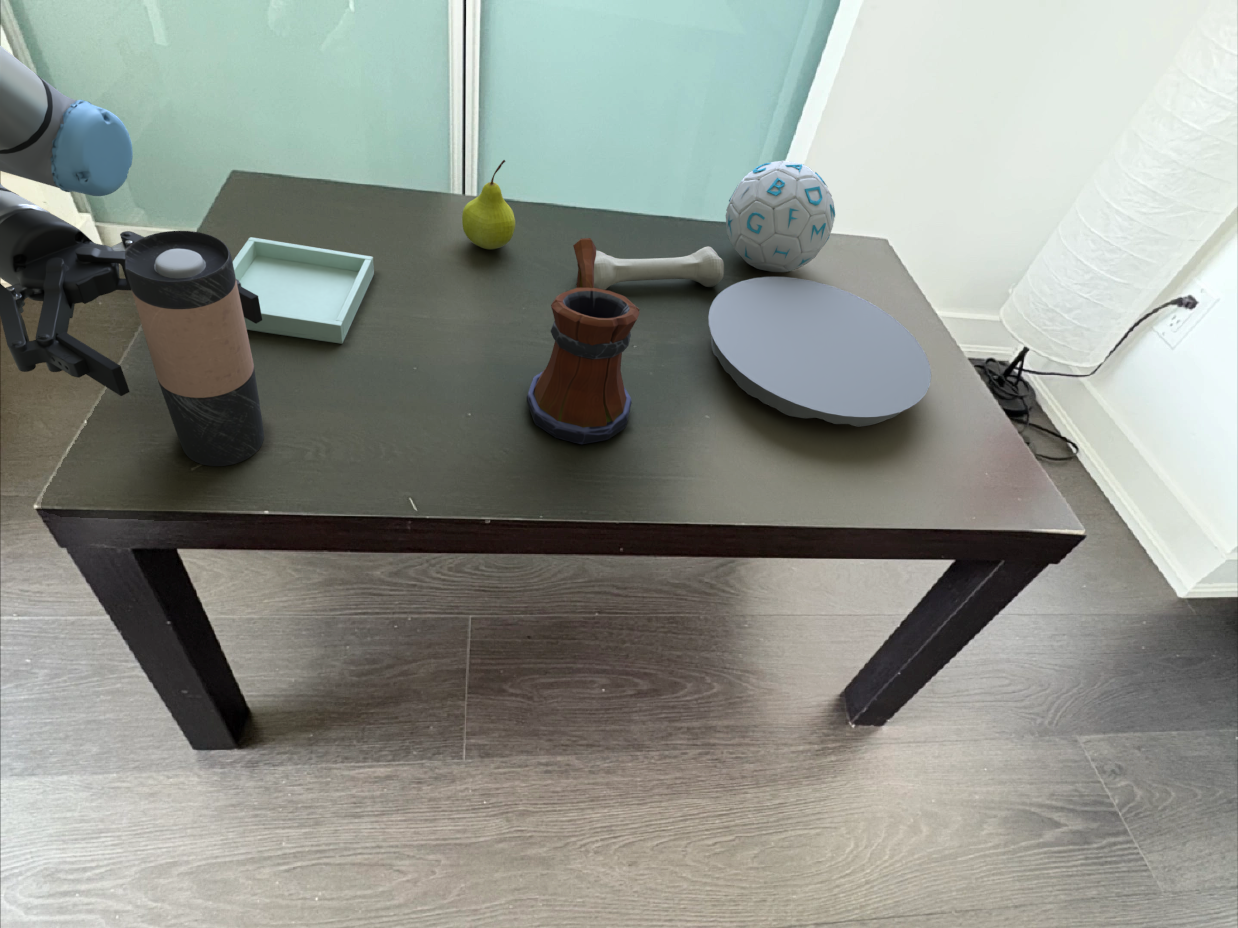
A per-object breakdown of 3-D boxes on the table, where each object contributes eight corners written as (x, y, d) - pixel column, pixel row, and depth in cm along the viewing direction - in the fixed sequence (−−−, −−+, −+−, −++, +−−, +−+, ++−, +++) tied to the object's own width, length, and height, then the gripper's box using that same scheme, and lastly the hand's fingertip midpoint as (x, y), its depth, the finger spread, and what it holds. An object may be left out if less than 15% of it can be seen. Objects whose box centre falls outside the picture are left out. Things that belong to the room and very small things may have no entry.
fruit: (468, 261, 104) (472, 174, 95) (455, 234, 108) (457, 148, 100) (518, 257, 106) (526, 173, 98) (503, 231, 111) (510, 147, 102)
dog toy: (585, 299, 102) (591, 266, 99) (573, 274, 106) (578, 240, 102) (724, 295, 109) (734, 263, 105) (708, 270, 113) (717, 239, 109)
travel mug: (284, 430, 77) (253, 249, 63) (230, 480, 72) (182, 294, 58) (218, 403, 78) (172, 219, 64) (159, 449, 73) (96, 260, 59)
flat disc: (749, 454, 86) (761, 424, 83) (670, 305, 105) (678, 276, 101) (957, 437, 95) (975, 410, 92) (851, 303, 113) (863, 276, 110)
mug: (522, 339, 94) (534, 225, 84) (616, 346, 96) (639, 235, 86) (527, 444, 82) (541, 326, 71) (635, 449, 84) (665, 335, 73)
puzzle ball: (830, 270, 119) (869, 176, 108) (780, 304, 110) (817, 205, 99) (748, 226, 124) (777, 132, 114) (694, 256, 115) (720, 156, 105)
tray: (342, 343, 88) (340, 325, 86) (206, 323, 86) (201, 304, 84) (374, 274, 98) (373, 256, 96) (253, 254, 97) (249, 236, 95)
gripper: (157, 235, 84) (308, 317, 79) (-102, 340, 67) (67, 452, 62) (139, 168, 79) (299, 250, 73) (-147, 263, 62) (34, 379, 57)
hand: (194, 343), depth 68 cm, fingers open, 13 cm apart
